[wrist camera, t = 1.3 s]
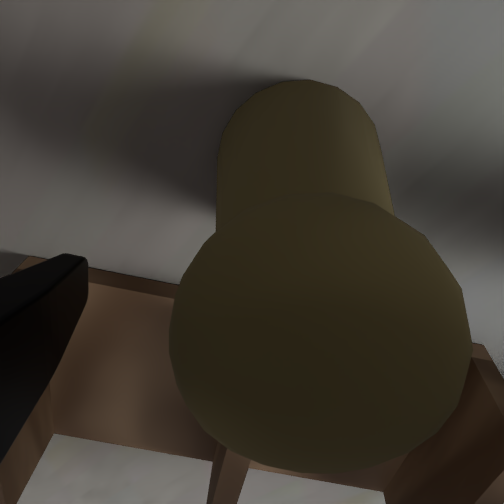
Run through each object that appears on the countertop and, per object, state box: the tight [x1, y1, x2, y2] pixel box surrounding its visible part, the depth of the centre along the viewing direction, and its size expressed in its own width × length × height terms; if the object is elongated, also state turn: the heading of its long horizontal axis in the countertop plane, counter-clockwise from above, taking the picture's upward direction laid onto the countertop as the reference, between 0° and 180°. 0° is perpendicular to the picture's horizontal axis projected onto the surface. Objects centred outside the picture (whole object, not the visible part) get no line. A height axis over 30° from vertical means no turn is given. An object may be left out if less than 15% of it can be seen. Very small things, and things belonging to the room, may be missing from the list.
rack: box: [0, 256, 504, 504], centre depth 19 cm, size 21×11×6 cm, turn 79°
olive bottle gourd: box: [169, 80, 473, 474], centre depth 11 cm, size 6×6×11 cm
